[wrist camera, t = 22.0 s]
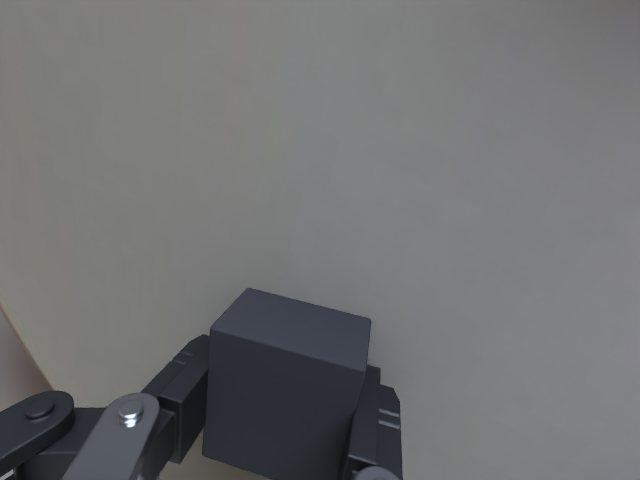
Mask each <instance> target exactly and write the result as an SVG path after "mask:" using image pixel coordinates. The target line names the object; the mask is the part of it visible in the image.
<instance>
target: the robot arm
mask: <svg viewBox="0 0 640 480" xmlns="http://www.w3.org/2000/svg"><path fill="white" fill-rule="evenodd" d="M209 338H210V336H207V335H201V336H199V337H197V338H196V339H194V340H192V341H190V342H189V343H188V344H187V345H186V346H185V347H184V348H183V349H182V350H181V351H180V353H178V354H177V355H176V356H175V357H174V358H173V360H172V362H171V361H170V362H169V363H168V364H167V365H166V367H165V368H164V369H163V370H162V371H161V372H160V373H159V374H158V375H157V376H156V377H155V378H154V379H153V380H152V381H151V382H150V383H149V384H148V385H147V386H146V387H145V388H144V389H143V390H142V391H141V392H140V393H132V394H128V395H125V396H122V397H120V398H118V399H117V400H115V401H113V402H112V403H111V404H110V405H109V406H108V407H107V408H74V401H73V398H72V396H71V395H70V394H68V393H66V392H63V391H48V392H43V393H39V394H36V395H33V396H31V397H29V398H27V399H25V400H23V401H21V402H19V403H17V404H15V405H13V406H11V407H9V408H7V409H5V410H3V411H2V412H0V477H1V476H3V475H5V474H6V473H7V472H9V471H11V470H12V469H13V472H14V474H12V475H11V476H10V477H8V478H6V479H5V480H159V473H160V472H161V470H162V469H163V467H164V466H165V465H166V463H167V462H168V461H171V462H174V463H177V464H180V463H181V462H182V460H183V459H184V457H185V455H186V454H187V452H188V451H189V449H190V448H191V446H192V444H193V443H194V441H195V440H196V438H197V437H198V435H199V434H200V432H201V430H202V429H203V427H204V426H205V418H206V402H207V387H208V371H209V368H208V354H209ZM400 428H401V424H400V401H399V399H398V397H397V395H396V393H395V391H394V389H393V388H391V387H387V386H384V385H380V368H378V367H374V366H370V365H367V366H366V373H365V377H364V381H363V384H362V388H361V392H360V396H359V400H358V403H357V407H356V410H355V411H354V412H353V416H352V420H351V424H350V428H349V431H348V435H347V439H346V443H345V447H344V451H343V454H342V458H341V462H340V466H339V471H338V478H337V480H403V476H402V451H401V430H400Z"/></svg>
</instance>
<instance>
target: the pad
mask: <svg viewBox="0 0 640 480" xmlns="http://www.w3.org/2000/svg"><path fill="white" fill-rule="evenodd" d="M370 327H371V320H370V319H368V318H364V317H360V316H356V315H352V314H349V313H345V312H341V311H337V310H333V309H329V308H325V307H321V306H317V305H313V304H309V303H305V302H302V301H298V300H294V299H290V298H286V297H282V296H278V295H274V294H270V293H266V292H262V291H258V290H255V289H251V288H247V289H246V290H245V291H244V292H243V293H242V294H241V295H240V296H239V298H238V299H237V300H236V301H235V302H234V303H233V304H232V305H231V306H230V307H229V308H228V309H227V310H226V311H225V312H224V314H223V315H222V316H221V317H220V318H219V319H218V320H217V321H216V322H215V323H214V324H213V325H212V326H211V328H210V338H209V354H208V368H209V371H208V387H207V402H206V418H205V426H204V433H203V449H202V455H203V456H205V457H208V458H211V459H214V460H217V461H220V462H223V463H226V464H229V465H232V466H235V467H238V468H241V469H244V470H247V471H250V472H253V473H255V474H258V475H261V476H264V477H267V478H270V479H273V480H337V478H338V471H339V466H340V462H341V458H342V454H343V451H344V447H345V443H346V439H347V435H348V431H349V428H350V424H351V420H352V416H353V412H354V411H355V410H356V407H357V403H358V400H359V396H360V392H361V388H362V384H363V381H364V377H365V373H366V366H367V356H368V347H369V337H370Z"/></svg>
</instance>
